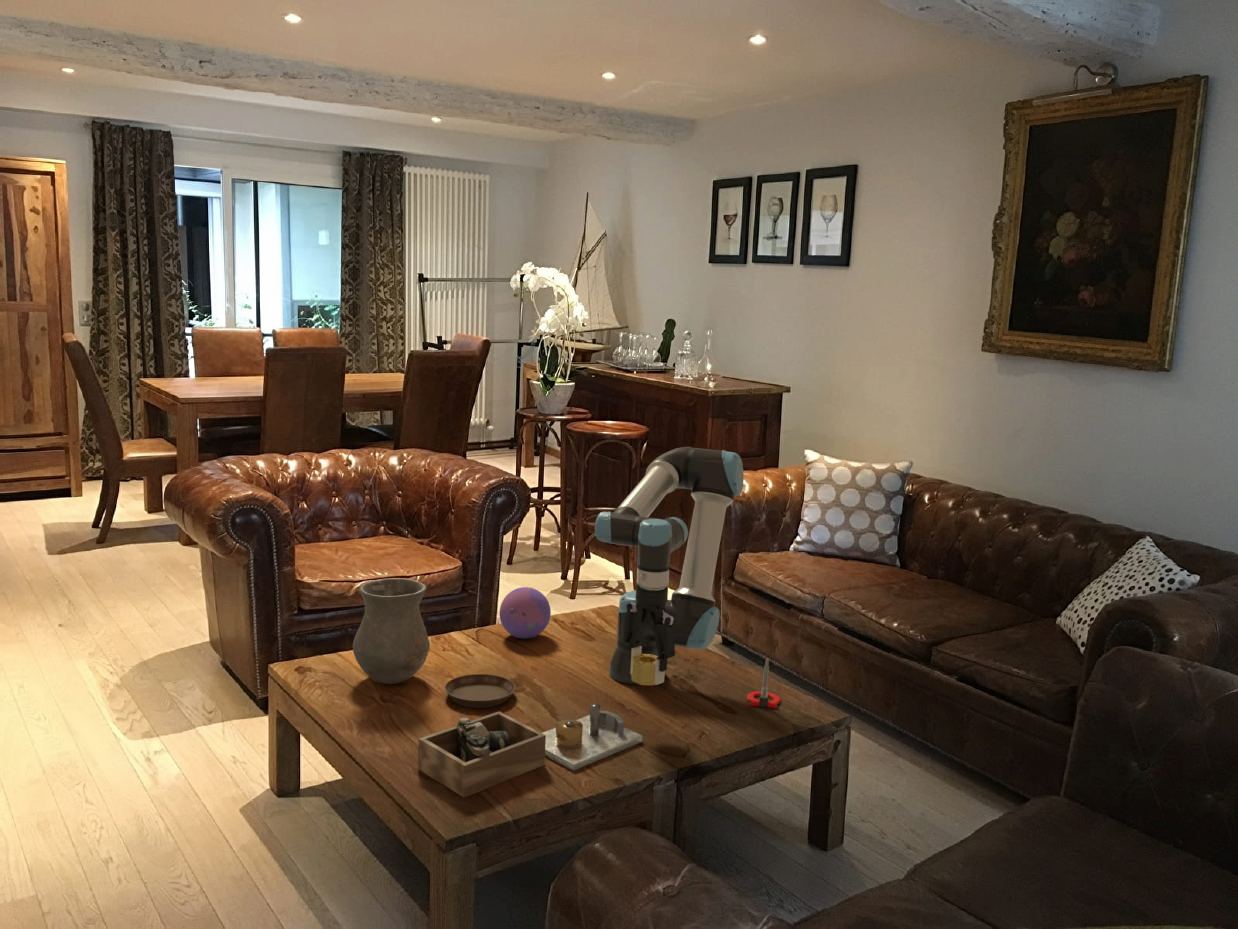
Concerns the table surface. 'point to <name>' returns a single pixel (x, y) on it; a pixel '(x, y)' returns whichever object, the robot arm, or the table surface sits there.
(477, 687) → the plant saucer
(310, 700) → the table surface
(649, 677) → the gear
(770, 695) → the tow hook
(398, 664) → the vase
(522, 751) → the camera caddy
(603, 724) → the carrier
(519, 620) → the decorative ball
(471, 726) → the camera
